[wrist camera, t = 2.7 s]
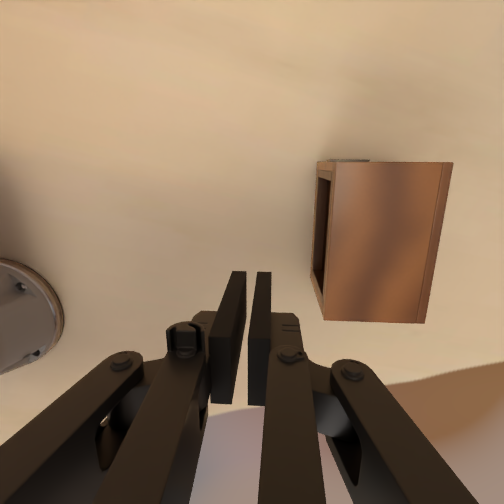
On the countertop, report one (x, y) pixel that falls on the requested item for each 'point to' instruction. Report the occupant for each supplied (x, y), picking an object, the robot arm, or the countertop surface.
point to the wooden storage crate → (377, 238)
